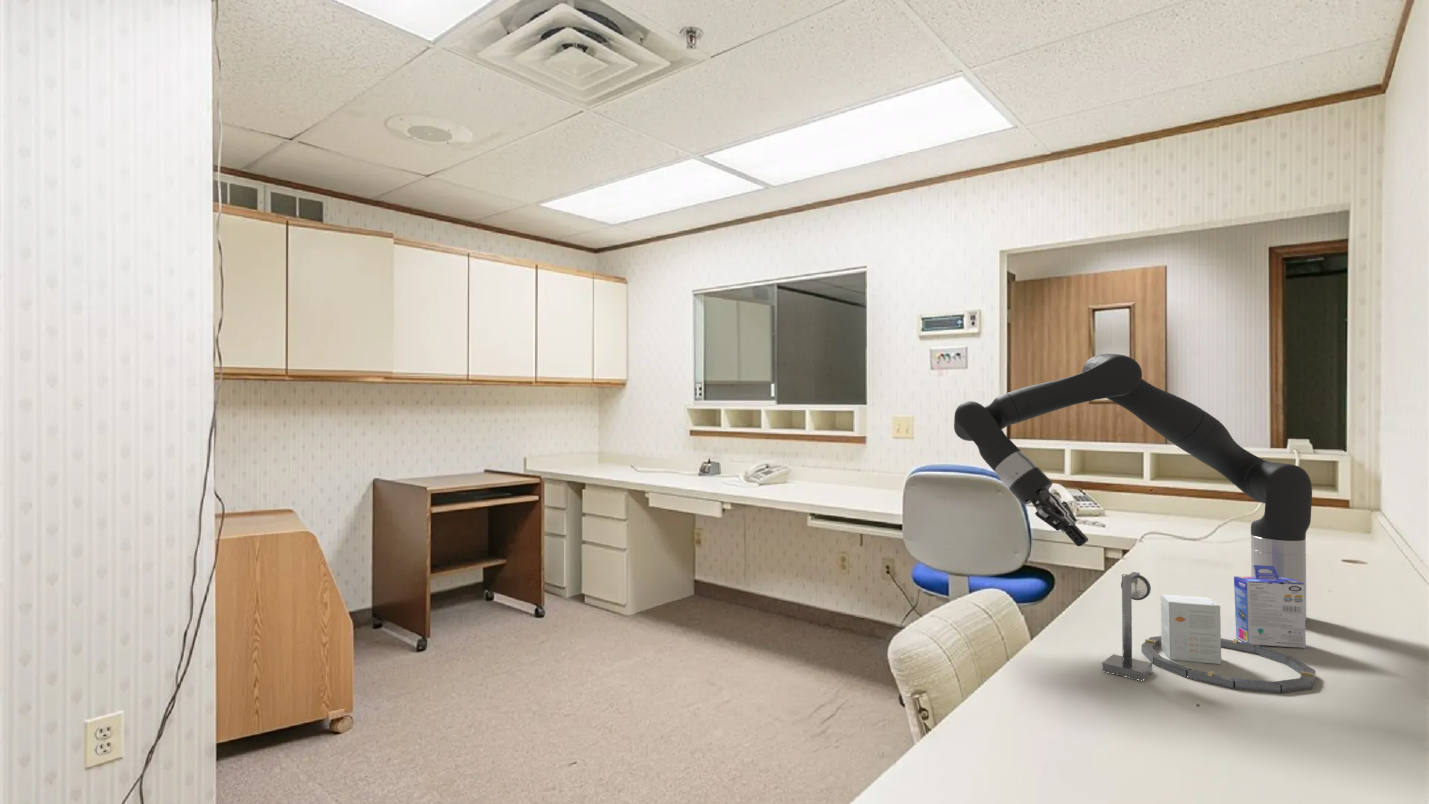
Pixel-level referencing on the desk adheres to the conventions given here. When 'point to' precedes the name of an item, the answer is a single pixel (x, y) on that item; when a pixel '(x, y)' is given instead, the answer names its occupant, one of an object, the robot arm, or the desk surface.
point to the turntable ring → (1244, 684)
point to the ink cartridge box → (1270, 609)
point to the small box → (1191, 628)
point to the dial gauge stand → (1129, 630)
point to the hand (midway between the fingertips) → (1083, 543)
